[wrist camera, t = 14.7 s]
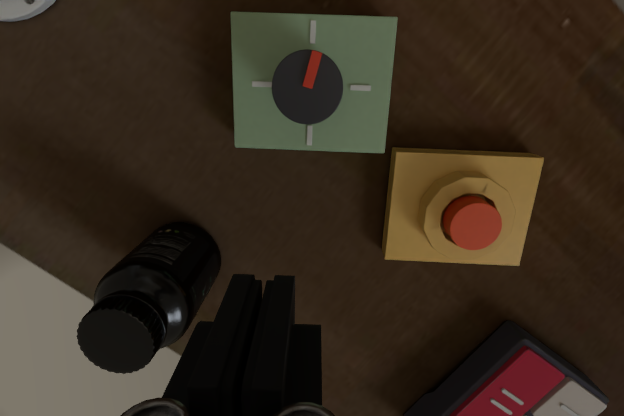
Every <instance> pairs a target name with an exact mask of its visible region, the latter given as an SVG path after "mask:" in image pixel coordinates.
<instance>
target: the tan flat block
mask: <svg viewBox="0 0 624 416" xmlns="http://www.w3.org/2000/svg"><path fill="white" fill-rule="evenodd" d="M543 161H544V158H543V157H540V156H537V155H535V154H532V153H519V152H495V151H470V150H446V149H421V148H397V147H392V153H391V163H390V172H389V182H388V192H387V202H386V211H385V221H384V231H383V241H382V252H383V255H384V258H385V259H386V260H407V261H427V262H448V263H469V264H490V265H510V266H519V264H520V259H521V255H522V251H523V246H524V242H525V238H526V234H527V229H528V225H529V221H530V216H531V212H532V208H533V204H534V199H535V195H536V191H537V186H538V182H539V178H540V174H541V169H542V165H543ZM464 196H477V197H480V198H482V199H484V200H485V201H486V202H488V203H489V204H490V205H491V206H493V207H494V208H495V209H496V210H497V211H498V212H499V214H500V216H501V219H502V228H501V232H500V234H499V236H498V237H497V239H496V240H495V241H494V242H493V243H492V244H491V245H489V246H487V247H485V248H483V249H479V250H467V249H463V248H461V247H459V246H458V245H457V244H456V243H455V242H454V241H453V240H452V238H451V237H450V236H449V235H448V233H447V232H446V230H445V228H444V225H443V217H444V213H445V211H446V209H447V208H448V206H449V205H450V204H451V203H452V202H454V201H455V200H457V199H459V198H461V197H464Z"/></svg>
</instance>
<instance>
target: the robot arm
mask: <svg viewBox="0 0 624 416" xmlns="http://www.w3.org/2000/svg"><path fill="white" fill-rule="evenodd" d="M55 1H56V0H0V21H10V22H14V21H19V20H25V19H29V18H31V17H33V16H36V15H38V14H40V13H42V12H43V11H45V10H46V9H47V8H48V7H50V6H51V5H52V4H53V3H54V2H55ZM121 416H335V415H334V414H333V413H332V412H331V411H329V410H328V409H326V408H325V407H323V406H322V369H321V325H308V324H295V276H283V275H275V277H274V280H267V282H266V286H265V290H264V294H263V299H262V281H261V280H255V276H254V275H248V274H234V275H233V276H232V279H231V281H230V284H229V286H228V288H227V291H226V293H225V296H224V298H223V300H222V303H221V305H220V308H219V310H218V312H217V315H216V317H215V320H214V322H206V321H200V322H198V324H197V325H196V327H195V329H194V331H193V333H192V335H191V337H190V339H189V342H188V344H187V346H186V348H185V350H184V352H183V354H182V356H181V358H180V360H179V363H178V365H177V367H176V369H175V371H174V373H173V375H172V377H171V379H170V381H169V384H168V386H167V388H166V390H165V392H164V395H163V396H162V398H155V399H150V400H146V401H143V402H141V403H139V404H137V405H134V406H133V407H131V408H130V409H128V410H127V411H126V412H124V413H123V414H122V415H121Z"/></svg>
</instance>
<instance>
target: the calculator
mask: <svg viewBox="0 0 624 416" xmlns="http://www.w3.org/2000/svg"><path fill="white" fill-rule="evenodd" d="M608 402H609V399H608V398H607V396H606V395H605V394H604V393H603V392H602V391H601V390H600V389H599V388H598V387H597V386H596V385H595V384H594V383H593V382H592V381H591V380H590V379H589V378H588V377H587V376H586V375H585V374H583V373H582V372H581V371H579V370H578V369H576V368H575V367H574V366H572V365H571V364H570V363H568V362H567V361H566V360H564V359H563V358H562V357H560V356H559V355H557V354H556V353H555V352H553V351H552V350H551V349H549V348H548V347H547V346H545V345H544V344H543V343H541V342H540V341H538V340H537V339H536V338H534V337H533V336H532V335H530V334H529V333H528V332H526V331H525V330H524V329H522V328H521V327H519V326H518V325H517V324H515V323H514V322H512V321H506V322H505V323H504V324H503V325H502V326H501V327H500V328H499V329H498V330H497V331H495V332H494V333H493V334H492V335H491V336H490V337H489V338H488V339H487V340H486V341H485V342H484V343H483V344H482V345H481V346H480V347H479V348H478V349H477V350H476V351H475V352H474V353H473V354H472V355H471V356H470V357H469V358H468V359H467V360H466V361H465V362H464V363H463V364H462V365H461V366H460V367H459V368H458V369H457V370H455V371H454V372H453V373H452V374H451V375H450V376H449V377H448V378H447V379H446V380H445V381H444V382H443V383H442V384H441V385H440V386H439V387H438V388H437V389H436V390H435V391H434V392H431V393H427V394H425V395H424V396H423V397H422V398H420V399H419V400H418V401H417V402H416V403H415V404H414V405H413V406H412V407H411V408H410V409H409V410H408V411H407V412H406V413H405V414H404V416H597V415H598V414H600V413H601V412H602V411H603V410H604V409H605V408H606V404H607V403H608Z"/></svg>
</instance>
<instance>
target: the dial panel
mask: <svg viewBox="0 0 624 416" xmlns="http://www.w3.org/2000/svg"><path fill="white" fill-rule="evenodd" d="M397 19H398V18H397V17H385V16H354V15H323V14H292V13H261V12H231V43H232V76H233V108H234V140H235V147H239V148H263V149H287V150H311V151H336V152H360V153H385V144H386V133H387V123H388V113H389V102H390V92H391V82H392V71H393V61H394V50H395V40H396V30H397ZM305 49H310V50H316V51H319V52H322V53H324V54H325V55H327V56H328V57H329V58H331V59H332V60H333V61H334V63H335V64H336V65H337V67H338V69H339V70H340V73H341V76H342V79H343V95H342V99H341V101H340V104H339V106H338V108H337V109H336V110H335V112H334V113H333V114H332V115H331V116H330V117H328V118H327V119H325V120H324V121H322V122H319V123H316V124H307V125H306V124H300V123H296V122H294V121H292V120H290V119H288V118H287V117H285V116H284V115H283V114H282V113H281V111H280V110H279V109H278V107H277V106H276V104H275V102H274V99H273V95H272V79H273V75H274V72H275V70H276V68H277V66H278V65H279V63H280V62H281V61H282V60H283V59H284V58H285V57H286V56H288V55H289V54H291V53H293V52H296V51H298V50H305Z"/></svg>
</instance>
